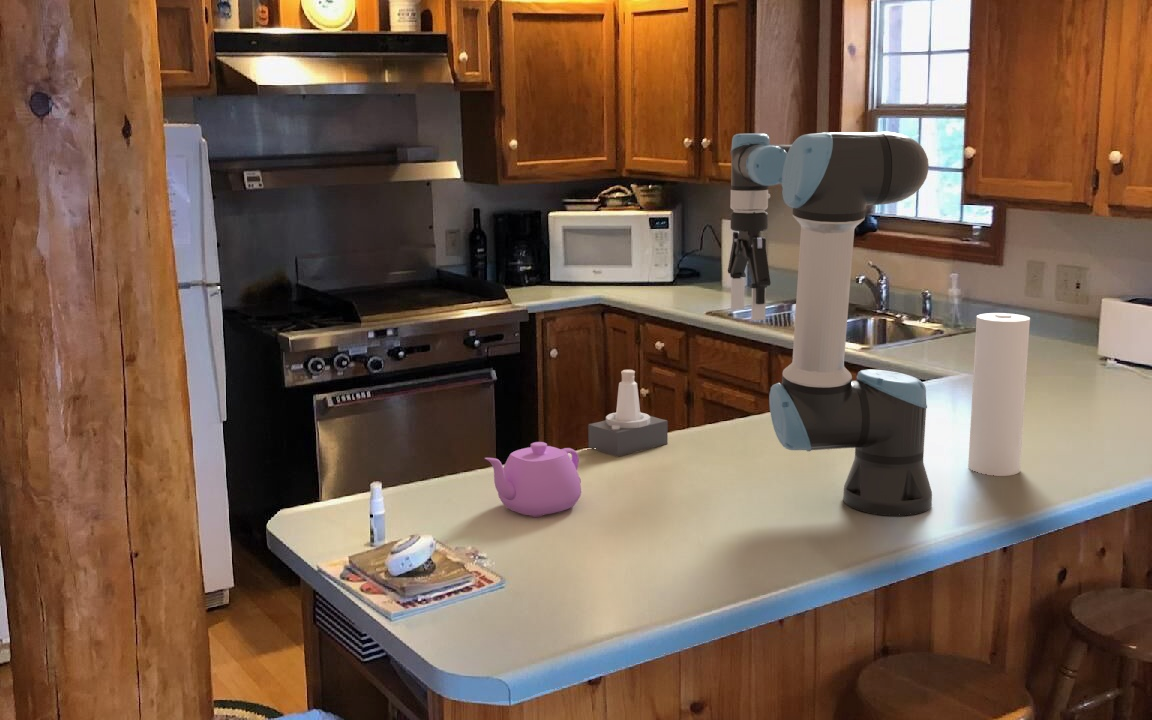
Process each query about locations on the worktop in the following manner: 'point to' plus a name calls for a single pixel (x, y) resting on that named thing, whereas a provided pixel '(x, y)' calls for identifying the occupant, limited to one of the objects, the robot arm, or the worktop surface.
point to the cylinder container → (998, 393)
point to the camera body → (627, 434)
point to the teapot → (538, 480)
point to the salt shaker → (628, 398)
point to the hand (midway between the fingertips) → (747, 314)
